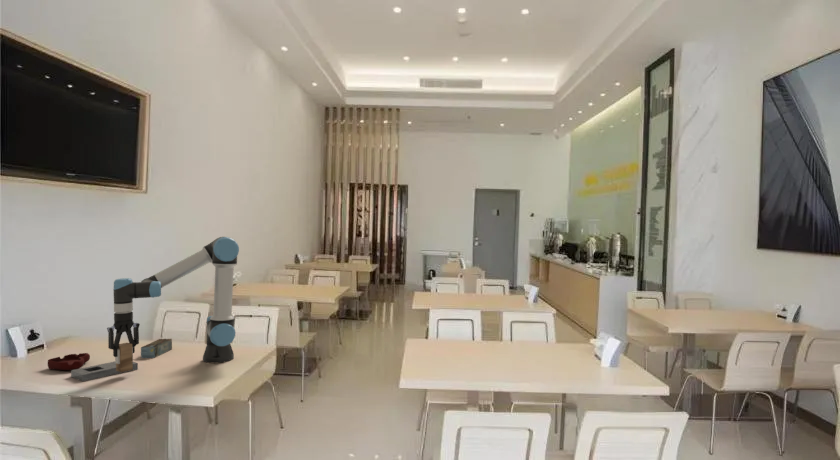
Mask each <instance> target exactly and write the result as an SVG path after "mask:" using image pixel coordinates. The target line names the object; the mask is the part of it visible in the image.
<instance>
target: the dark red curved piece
mask: <svg viewBox="0 0 840 460" xmlns="http://www.w3.org/2000/svg"><path fill="white" fill-rule="evenodd" d="M90 359H91V356H90V354H89V353H88V352H84V353H82V352H81V353H79V354H76V353H70V354H65V355H64V356H63V357H62V358H61V357H60V356H57V357H53V358H50V359H47V368H48V369H49V370H54V369H56V370H58V371H61V370H62V371H71V370H75V369H80V368H83V366H84V365H86V363H88V362H89V361H90ZM56 370H55V371H56Z"/></svg>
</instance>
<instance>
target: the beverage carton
mask: <svg viewBox="0 0 840 460" xmlns="http://www.w3.org/2000/svg"><path fill="white" fill-rule="evenodd" d="M171 350H173V339H172V338H158V339H156V340H154V341H152V342H149V343H147V344H146V345H144V346H141V347H140V357H141V358H143V359H146V358H147V359H152V358H153V359H156V358H157V357H159V356H162V355H163V354H165V353H166V352H169V351H171Z"/></svg>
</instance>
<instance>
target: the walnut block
mask: <svg viewBox="0 0 840 460" xmlns="http://www.w3.org/2000/svg"><path fill="white" fill-rule="evenodd" d="M118 349H120V364H117V363H116V371H119V372H123V373H126V372H125V371H127V372H130V371H129V370H132V371H134V370H133V362H134V357H133V358H132V344H131V343H129V342H123V343H119V347H118Z"/></svg>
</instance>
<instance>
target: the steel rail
mask: <svg viewBox="0 0 840 460" xmlns="http://www.w3.org/2000/svg"><path fill="white" fill-rule="evenodd" d="M138 367H139V365H138V362H136V361H133V370H129V371H125V372H119V371H116V363H115V361H109V362H105V363H101V364H96V365H92V366H91V365H90V366H85V367H81V368H79V369H75V370H70V377H71V378H73V379H75V380H78V381H80V382H86V381H87V382H88V381H91V380H95V379H100V378H104V377H108V376H113V375H118V374H122V373H126V372H131V371H135V370H139V368H138Z"/></svg>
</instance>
